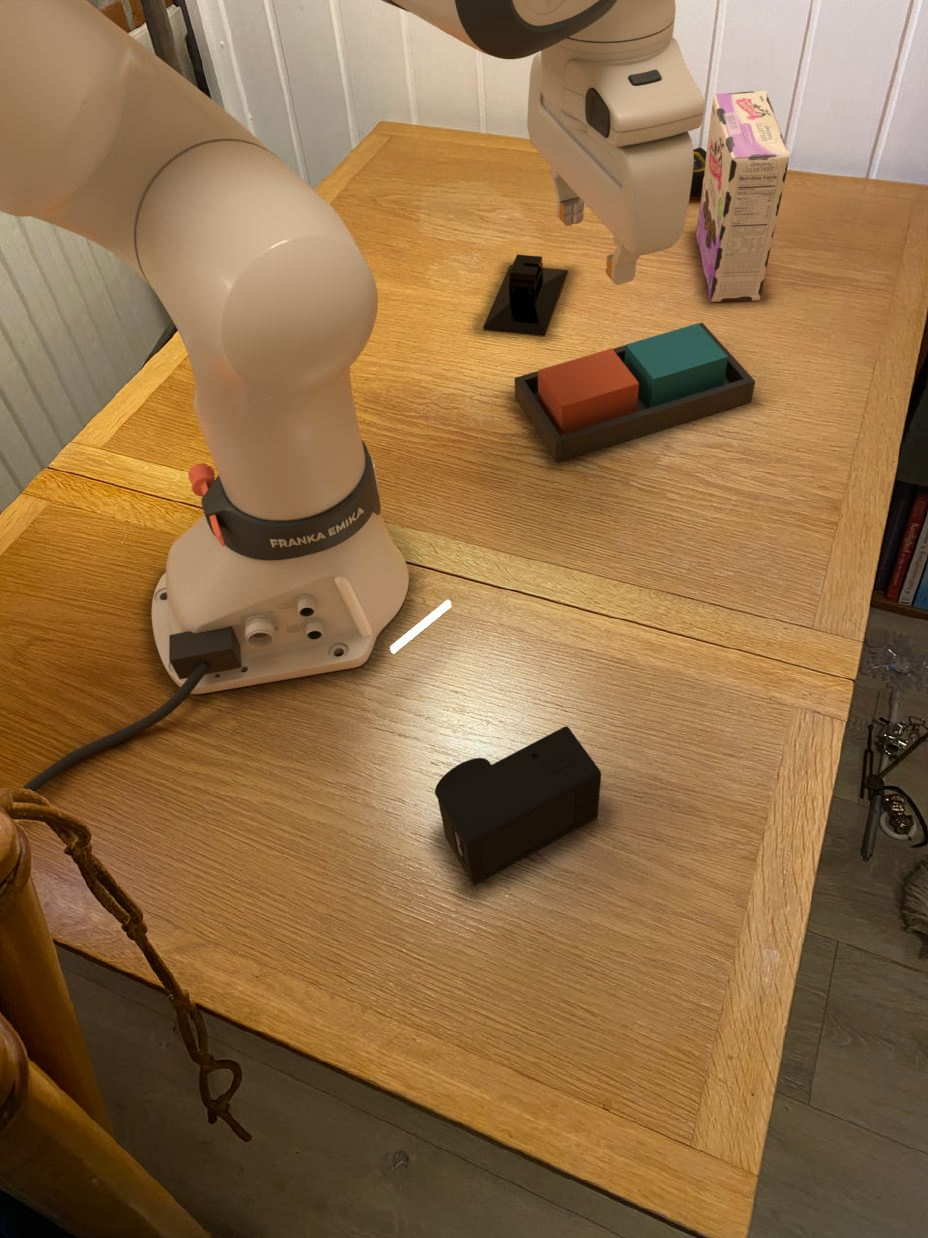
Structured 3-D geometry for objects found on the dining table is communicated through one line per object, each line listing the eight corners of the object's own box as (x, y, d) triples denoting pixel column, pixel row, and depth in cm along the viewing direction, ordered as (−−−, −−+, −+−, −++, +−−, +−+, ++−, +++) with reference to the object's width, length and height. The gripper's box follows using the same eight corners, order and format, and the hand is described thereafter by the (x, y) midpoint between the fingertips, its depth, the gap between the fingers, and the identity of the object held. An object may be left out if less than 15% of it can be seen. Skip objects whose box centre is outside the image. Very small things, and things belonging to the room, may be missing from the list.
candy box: (693, 235, 114) (712, 90, 101) (744, 232, 113) (769, 87, 100) (708, 303, 105) (730, 155, 92) (762, 301, 105) (792, 152, 92)
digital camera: (558, 760, 72) (559, 710, 67) (598, 817, 69) (602, 770, 64) (437, 824, 70) (427, 779, 64) (473, 886, 67) (466, 844, 61)
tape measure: (727, 196, 119) (731, 166, 116) (676, 208, 118) (680, 179, 115) (702, 171, 123) (705, 142, 120) (652, 183, 122) (655, 153, 119)
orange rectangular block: (561, 438, 93) (562, 406, 90) (537, 402, 97) (537, 369, 93) (636, 415, 94) (639, 382, 91) (610, 380, 98) (612, 347, 95)
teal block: (650, 411, 94) (653, 379, 91) (623, 376, 98) (625, 344, 95) (722, 389, 96) (728, 356, 92) (693, 355, 99) (698, 322, 96)
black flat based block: (544, 337, 104) (544, 300, 100) (480, 330, 106) (477, 294, 102) (568, 272, 111) (568, 235, 107) (507, 266, 113) (506, 230, 109)
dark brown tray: (555, 463, 92) (556, 442, 90) (514, 397, 98) (514, 377, 96) (751, 402, 95) (755, 380, 93) (699, 342, 101) (702, 321, 99)
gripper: (506, 18, 71) (509, 197, 82) (628, 133, 59) (612, 325, 70) (583, 3, 73) (576, 181, 83) (719, 112, 60) (690, 305, 71)
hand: (594, 248), depth 77 cm, fingers open, 8 cm apart
